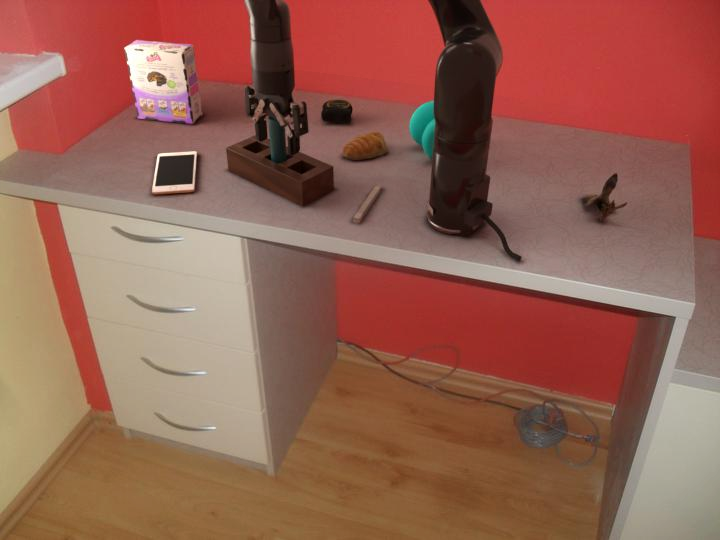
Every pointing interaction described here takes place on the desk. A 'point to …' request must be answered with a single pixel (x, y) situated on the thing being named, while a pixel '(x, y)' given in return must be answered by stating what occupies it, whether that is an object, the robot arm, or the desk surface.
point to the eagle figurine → (604, 198)
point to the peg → (277, 141)
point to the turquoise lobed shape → (424, 127)
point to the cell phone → (175, 173)
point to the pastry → (366, 146)
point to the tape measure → (336, 111)
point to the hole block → (281, 171)
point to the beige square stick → (367, 204)
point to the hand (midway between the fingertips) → (277, 146)
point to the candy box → (164, 81)
